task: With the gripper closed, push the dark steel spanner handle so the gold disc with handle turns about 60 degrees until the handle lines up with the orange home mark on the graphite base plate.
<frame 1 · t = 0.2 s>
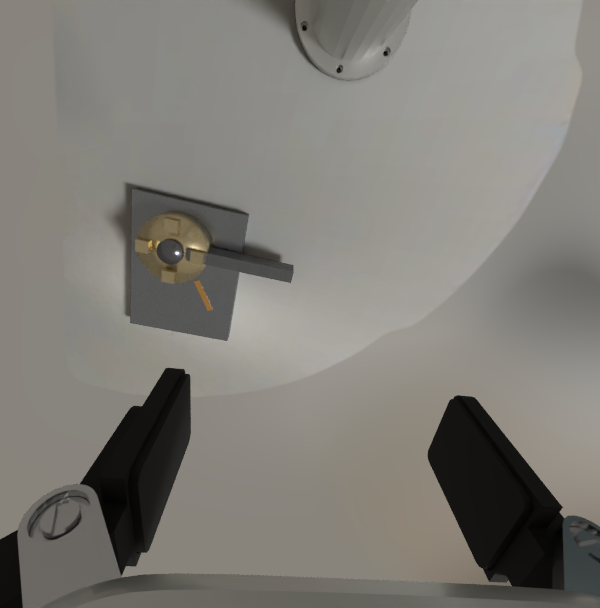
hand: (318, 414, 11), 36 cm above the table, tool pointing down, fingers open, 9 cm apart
gold disc with handle: (218, 258, 41), point 4 cm above the table, hinge at 0.0°
base plate: (187, 269, 46), on the table
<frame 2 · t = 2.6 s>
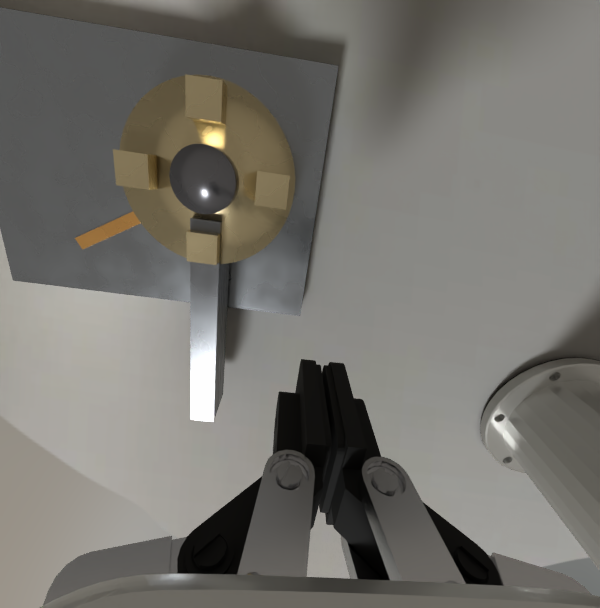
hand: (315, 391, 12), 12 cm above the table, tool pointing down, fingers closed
gold disc with handle: (210, 278, 19), point 4 cm above the table, hinge at 0.0°
base plate: (165, 185, 20), on the table
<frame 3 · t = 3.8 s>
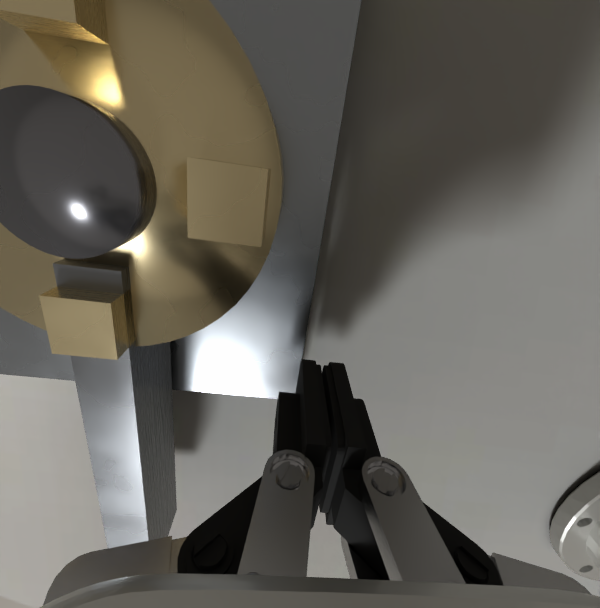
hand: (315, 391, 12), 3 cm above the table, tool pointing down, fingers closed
gold disc with handle: (126, 363, 10), point 4 cm above the table, hinge at 0.0°
base plate: (50, 188, 11), on the table
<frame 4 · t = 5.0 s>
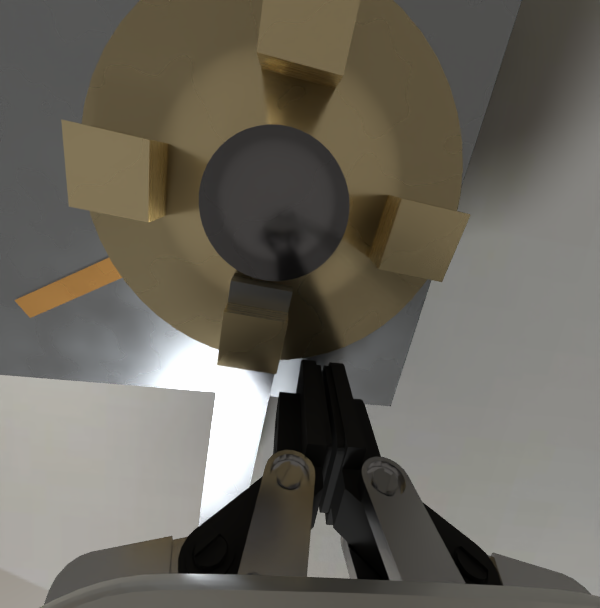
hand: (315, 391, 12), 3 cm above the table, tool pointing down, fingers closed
gold disc with handle: (247, 372, 11), point 4 cm above the table, hinge at 4.7°, touching gripper
base plate: (172, 204, 12), on the table
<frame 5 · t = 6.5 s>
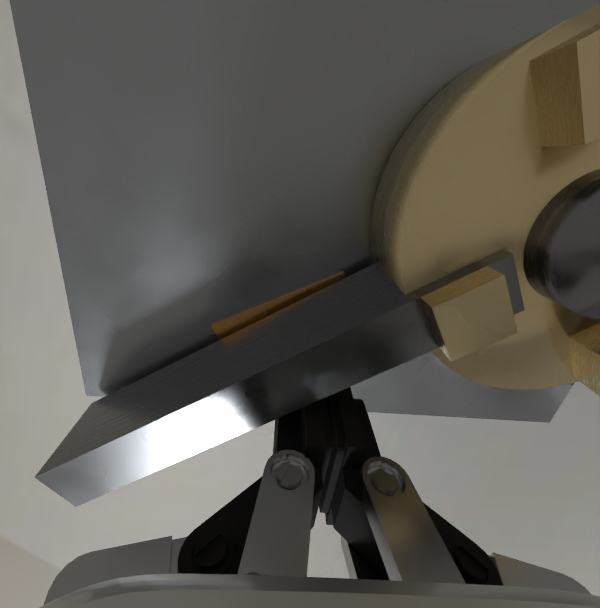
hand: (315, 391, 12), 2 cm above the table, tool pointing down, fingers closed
gold disc with handle: (359, 324, 9), point 4 cm above the table, hinge at 55.2°
base plate: (368, 225, 11), on the table
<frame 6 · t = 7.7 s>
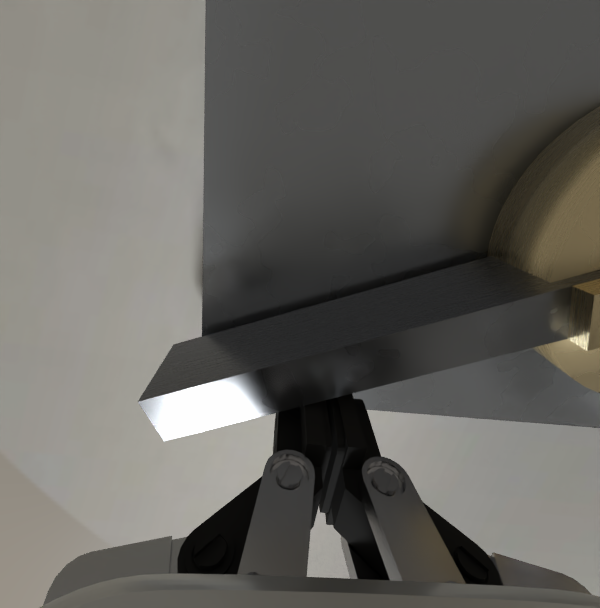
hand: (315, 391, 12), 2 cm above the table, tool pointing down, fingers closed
gold disc with handle: (480, 308, 9), point 4 cm above the table, hinge at 65.9°, touching gripper
base plate: (470, 242, 12), on the table
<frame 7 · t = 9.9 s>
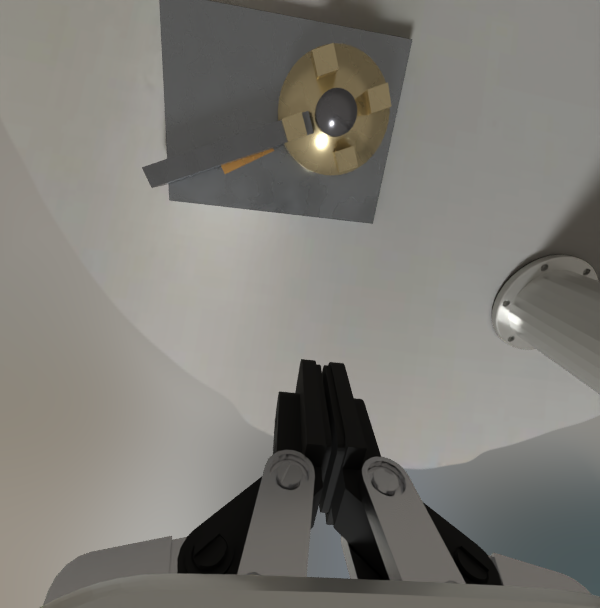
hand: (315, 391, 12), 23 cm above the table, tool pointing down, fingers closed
gold disc with handle: (266, 138, 26), point 4 cm above the table, hinge at 66.2°
base plate: (282, 127, 29), on the table
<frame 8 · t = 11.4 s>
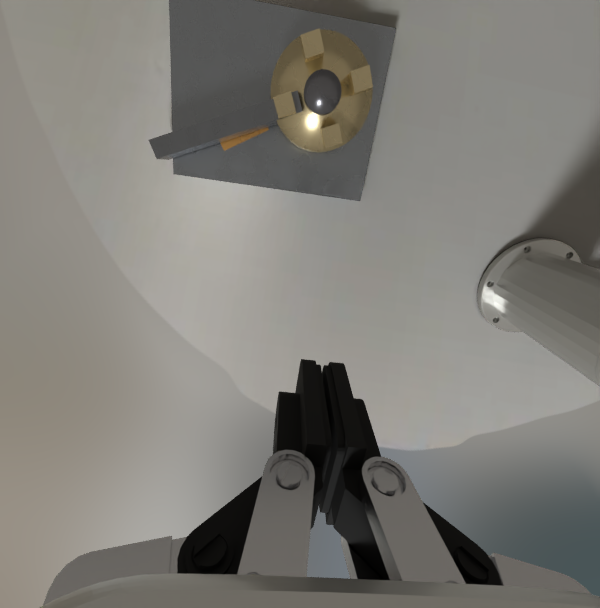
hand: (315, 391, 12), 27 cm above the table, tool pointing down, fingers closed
gold disc with handle: (260, 116, 28), point 4 cm above the table, hinge at 66.2°
base plate: (277, 109, 31), on the table
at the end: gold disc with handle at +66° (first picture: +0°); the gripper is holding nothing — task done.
